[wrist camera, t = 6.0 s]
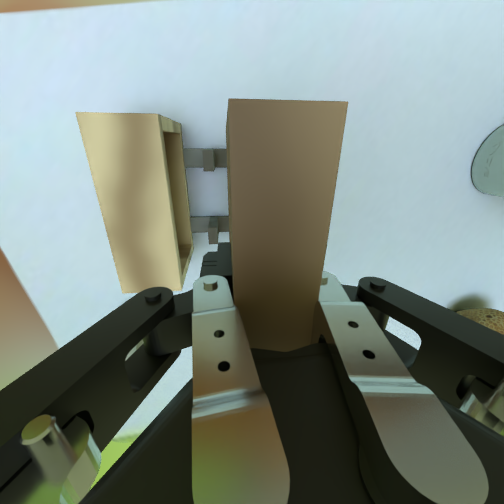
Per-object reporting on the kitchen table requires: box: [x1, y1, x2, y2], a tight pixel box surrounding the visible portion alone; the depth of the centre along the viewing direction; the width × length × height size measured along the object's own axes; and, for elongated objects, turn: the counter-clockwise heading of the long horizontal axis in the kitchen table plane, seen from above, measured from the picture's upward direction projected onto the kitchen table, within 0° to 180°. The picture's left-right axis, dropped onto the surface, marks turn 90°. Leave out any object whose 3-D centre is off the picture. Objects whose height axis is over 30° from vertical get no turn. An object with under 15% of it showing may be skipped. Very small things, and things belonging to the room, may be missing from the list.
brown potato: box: [456, 308, 504, 335], centre depth 38 cm, size 9×9×10 cm
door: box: [226, 99, 348, 352], centre depth 13 cm, size 4×13×12 cm, turn 0°
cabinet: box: [75, 112, 229, 293], centre depth 25 cm, size 15×15×10 cm
